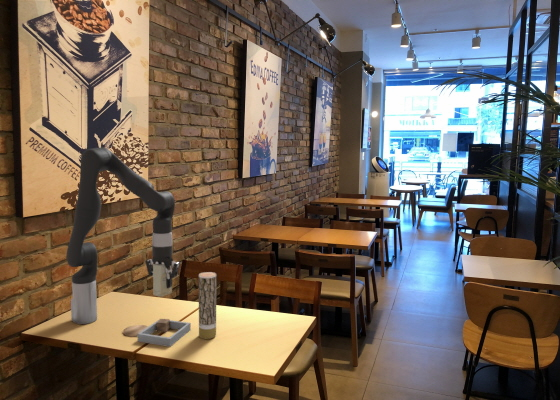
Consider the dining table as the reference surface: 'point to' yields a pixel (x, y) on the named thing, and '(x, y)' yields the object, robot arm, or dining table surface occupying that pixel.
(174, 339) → the parts bin
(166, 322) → the walnut block
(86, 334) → the dining table surface
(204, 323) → the paper tube
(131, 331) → the cork coaster
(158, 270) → the skincare box
